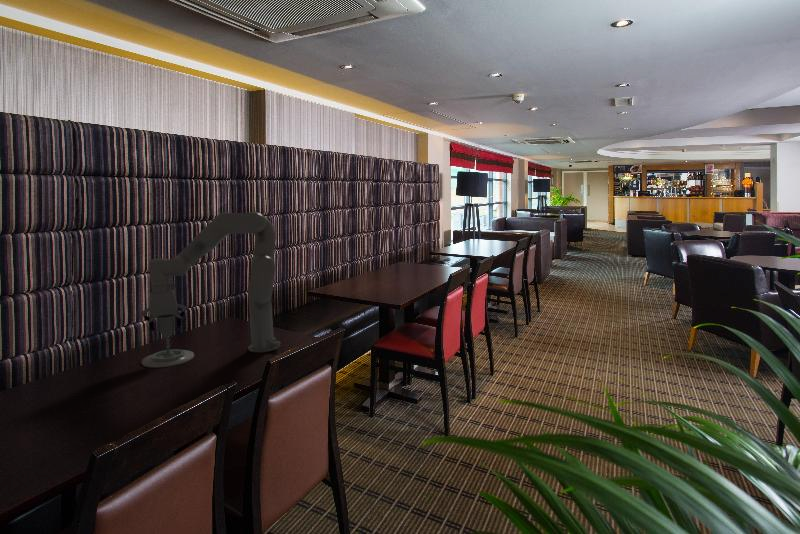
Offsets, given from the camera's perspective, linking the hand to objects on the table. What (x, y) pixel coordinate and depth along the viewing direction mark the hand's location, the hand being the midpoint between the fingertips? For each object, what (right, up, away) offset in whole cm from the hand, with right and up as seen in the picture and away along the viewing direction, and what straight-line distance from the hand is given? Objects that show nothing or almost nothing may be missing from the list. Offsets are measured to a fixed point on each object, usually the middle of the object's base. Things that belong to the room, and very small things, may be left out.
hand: (166, 329), depth 209 cm
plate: (0, -13, +2) cm, 13 cm away
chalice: (0, -12, +2) cm, 12 cm away
